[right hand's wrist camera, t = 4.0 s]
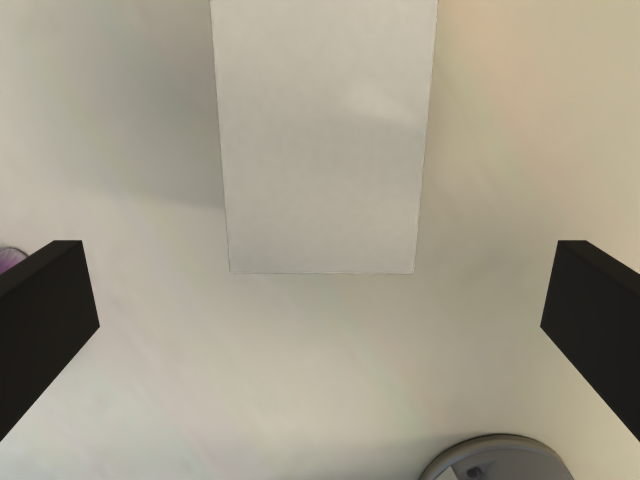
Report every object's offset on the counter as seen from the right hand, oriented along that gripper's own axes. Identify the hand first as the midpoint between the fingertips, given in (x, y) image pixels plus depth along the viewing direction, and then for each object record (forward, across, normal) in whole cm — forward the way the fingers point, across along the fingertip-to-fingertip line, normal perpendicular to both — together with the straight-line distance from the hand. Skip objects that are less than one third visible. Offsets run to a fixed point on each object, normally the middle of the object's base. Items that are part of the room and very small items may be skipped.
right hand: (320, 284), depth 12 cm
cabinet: (+21, 0, -4) cm, 21 cm away
